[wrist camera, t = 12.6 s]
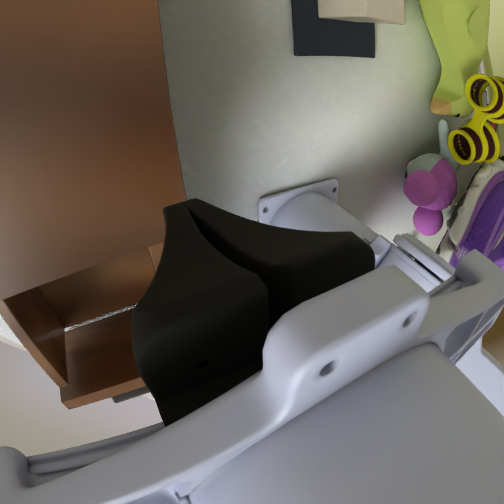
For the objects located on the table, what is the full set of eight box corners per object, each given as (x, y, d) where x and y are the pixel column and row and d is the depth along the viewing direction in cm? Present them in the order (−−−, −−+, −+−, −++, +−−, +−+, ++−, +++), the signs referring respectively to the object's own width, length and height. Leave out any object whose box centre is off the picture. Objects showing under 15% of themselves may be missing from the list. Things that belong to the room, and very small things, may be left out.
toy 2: (445, 78, 27) (372, 161, 28) (490, 95, 23) (422, 188, 24) (457, 151, 37) (398, 227, 38) (492, 170, 32) (434, 253, 33)
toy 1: (413, -61, 11) (460, 144, 25) (488, -69, 11) (516, 80, 25) (352, -55, 15) (413, 122, 30) (441, -72, 15) (477, 66, 29)
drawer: (192, 332, 29) (219, 389, 24) (83, 370, 26) (93, 432, 21) (141, 131, 18) (162, 163, 13) (-20, 192, 14) (-55, 248, 9)
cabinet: (156, 172, 21) (193, 233, 15) (-5, 231, 17) (-35, 315, 11) (126, -47, 11) (152, -108, 5) (-59, 23, 7) (-129, 16, 1)
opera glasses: (462, 62, 20) (505, 89, 17) (490, 68, 21) (528, 94, 18) (436, 146, 27) (469, 178, 24) (464, 143, 28) (494, 171, 26)
